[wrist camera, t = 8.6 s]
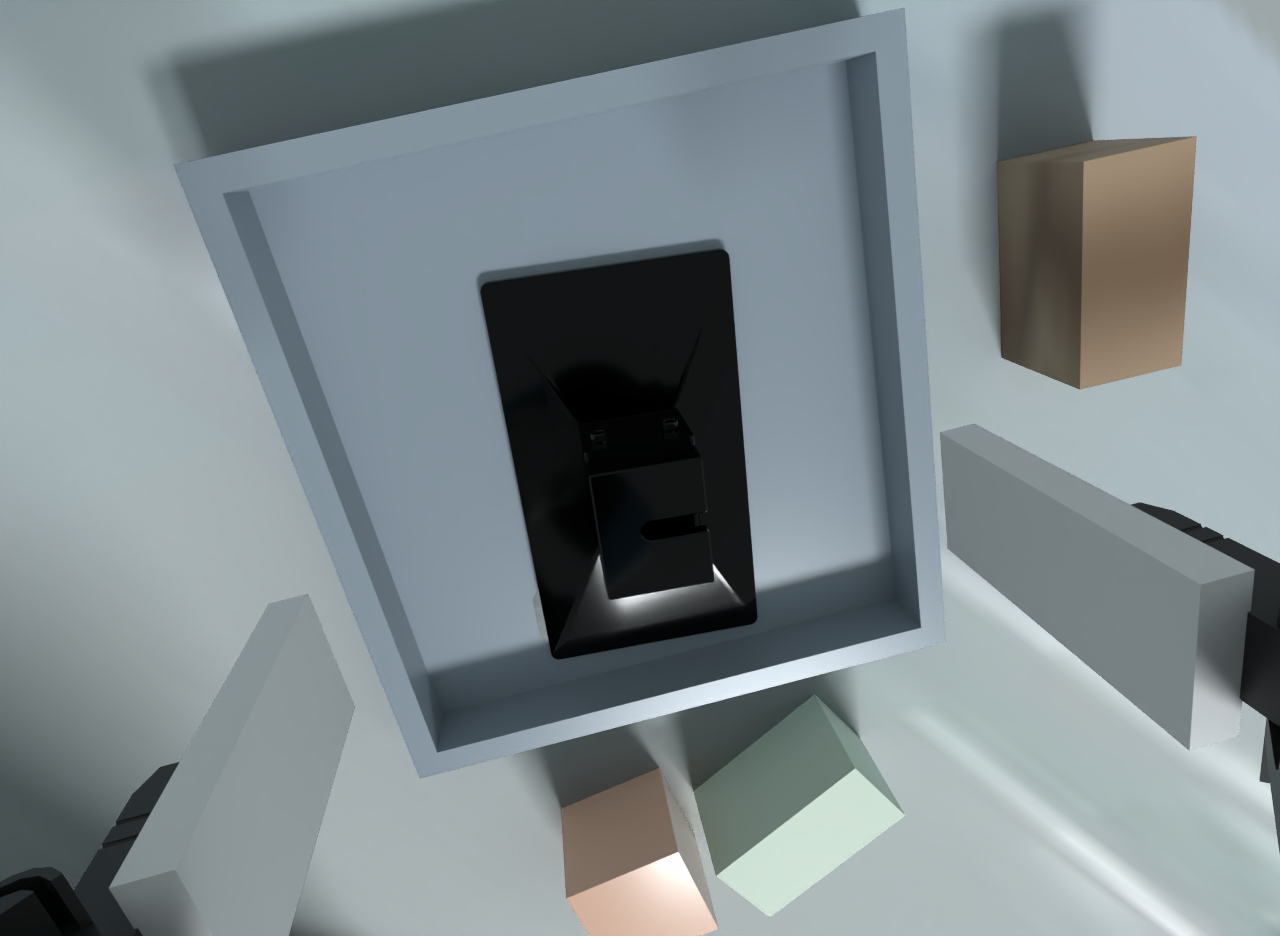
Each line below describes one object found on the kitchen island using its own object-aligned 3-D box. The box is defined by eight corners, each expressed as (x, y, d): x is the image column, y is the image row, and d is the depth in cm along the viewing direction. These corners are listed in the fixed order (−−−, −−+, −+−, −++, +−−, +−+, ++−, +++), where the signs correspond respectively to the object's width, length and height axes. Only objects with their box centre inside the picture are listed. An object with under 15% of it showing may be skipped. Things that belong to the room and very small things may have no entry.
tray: (428, 726, 27) (419, 778, 25) (213, 164, 20) (173, 164, 18) (911, 603, 28) (945, 642, 26) (863, 24, 21) (904, 7, 19)
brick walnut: (1086, 336, 26) (1181, 365, 22) (999, 357, 26) (1080, 389, 22) (1090, 140, 23) (1196, 136, 20) (995, 161, 23) (1083, 161, 20)
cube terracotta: (601, 876, 31) (612, 972, 27) (560, 806, 30) (566, 898, 26) (695, 837, 31) (718, 928, 27) (658, 766, 30) (678, 851, 26)
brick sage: (740, 828, 31) (769, 917, 28) (692, 788, 30) (716, 875, 27) (858, 736, 30) (905, 815, 27) (813, 692, 29) (855, 768, 26)
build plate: (754, 616, 27) (797, 702, 23) (543, 654, 27) (547, 750, 22) (726, 246, 22) (774, 268, 18) (469, 283, 22) (455, 314, 18)
